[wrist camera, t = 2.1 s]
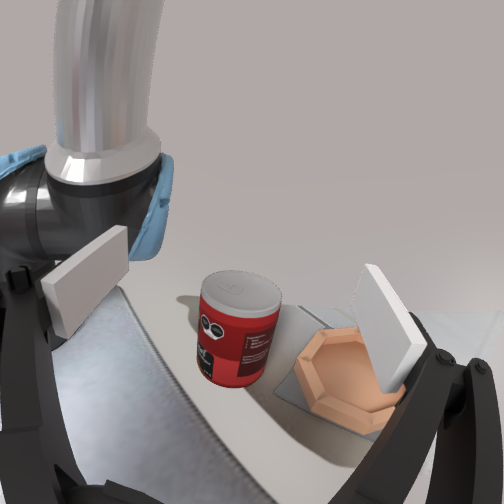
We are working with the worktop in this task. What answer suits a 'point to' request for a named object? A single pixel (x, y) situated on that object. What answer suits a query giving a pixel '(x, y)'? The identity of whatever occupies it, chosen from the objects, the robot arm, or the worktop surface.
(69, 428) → the worktop surface
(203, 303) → the canned food
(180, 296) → the worktop surface
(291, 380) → the mat
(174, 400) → the worktop surface
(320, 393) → the bowl
